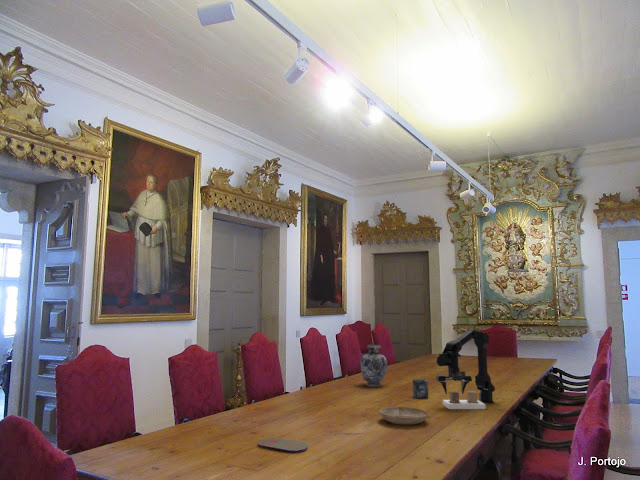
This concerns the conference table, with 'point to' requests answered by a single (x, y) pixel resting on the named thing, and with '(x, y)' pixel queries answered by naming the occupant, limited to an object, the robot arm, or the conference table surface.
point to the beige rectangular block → (454, 397)
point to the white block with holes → (466, 402)
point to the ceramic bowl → (404, 415)
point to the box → (420, 388)
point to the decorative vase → (373, 366)
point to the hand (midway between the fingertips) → (454, 393)
